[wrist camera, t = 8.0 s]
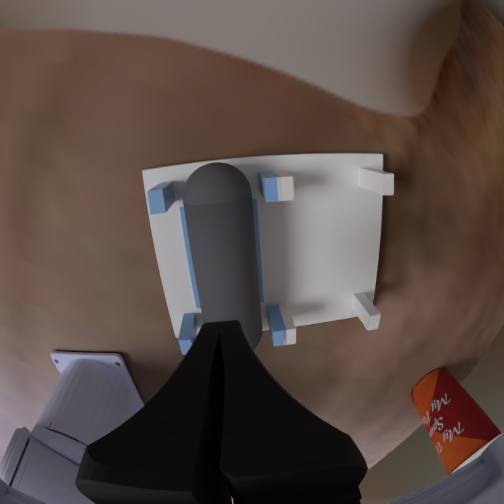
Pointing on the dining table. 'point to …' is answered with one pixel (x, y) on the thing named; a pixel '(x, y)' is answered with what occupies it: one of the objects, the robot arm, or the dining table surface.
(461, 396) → the paper cup
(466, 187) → the dining table surface
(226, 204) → the dark grey capsule
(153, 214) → the board
